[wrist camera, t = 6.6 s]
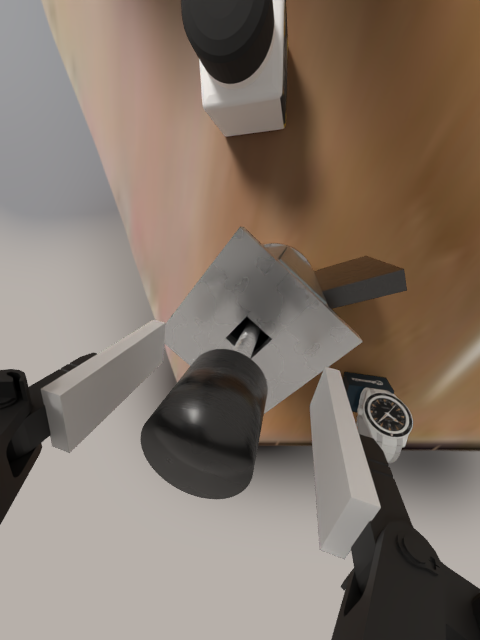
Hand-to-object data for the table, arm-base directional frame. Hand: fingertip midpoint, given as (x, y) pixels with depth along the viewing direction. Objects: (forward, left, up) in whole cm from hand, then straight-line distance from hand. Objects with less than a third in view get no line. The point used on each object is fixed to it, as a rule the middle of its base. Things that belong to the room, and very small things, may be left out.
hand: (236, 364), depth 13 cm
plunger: (0, 0, -17) cm, 17 cm away
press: (-2, 0, -21) cm, 21 cm away
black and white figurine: (-14, -16, -21) cm, 30 cm away
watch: (+2, +20, -21) cm, 29 cm away
